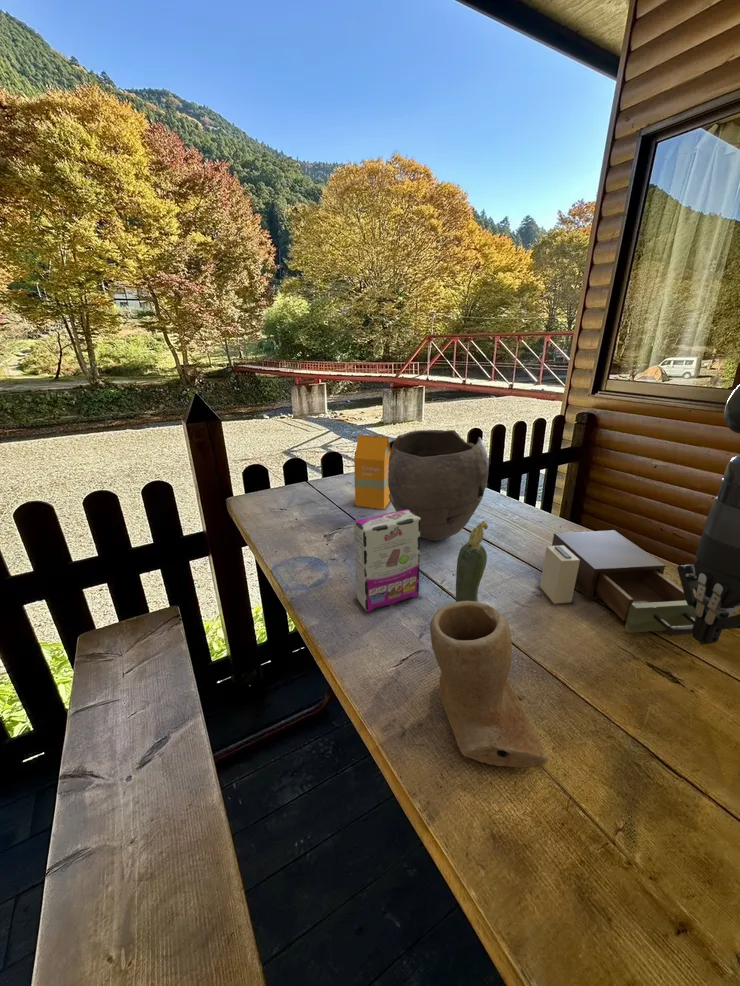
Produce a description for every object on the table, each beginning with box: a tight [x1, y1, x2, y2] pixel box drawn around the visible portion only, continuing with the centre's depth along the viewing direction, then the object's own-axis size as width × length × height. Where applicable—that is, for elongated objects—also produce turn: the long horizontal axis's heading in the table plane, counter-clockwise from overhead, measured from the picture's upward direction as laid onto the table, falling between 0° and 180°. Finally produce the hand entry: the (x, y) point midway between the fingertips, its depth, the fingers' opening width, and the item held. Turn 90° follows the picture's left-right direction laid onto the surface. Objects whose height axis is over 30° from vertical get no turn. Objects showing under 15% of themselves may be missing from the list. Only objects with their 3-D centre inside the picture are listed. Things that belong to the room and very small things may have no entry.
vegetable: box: [455, 520, 489, 602], centre depth 65 cm, size 4×4×20 cm
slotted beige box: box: [539, 545, 580, 604], centre depth 76 cm, size 3×6×9 cm, turn 5°
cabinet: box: [551, 529, 666, 601], centre depth 82 cm, size 15×14×7 cm
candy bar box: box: [353, 509, 421, 613], centre depth 74 cm, size 11×5×16 cm, turn 115°
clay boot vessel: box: [429, 601, 549, 769], centre depth 50 cm, size 15×12×15 cm
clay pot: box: [388, 429, 490, 542], centre depth 96 cm, size 24×24×25 cm
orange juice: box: [353, 434, 391, 510], centre depth 117 cm, size 8×9×20 cm
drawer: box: [594, 570, 697, 636], centre depth 70 cm, size 18×12×5 cm
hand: (702, 640), depth 60 cm, fingers closed
